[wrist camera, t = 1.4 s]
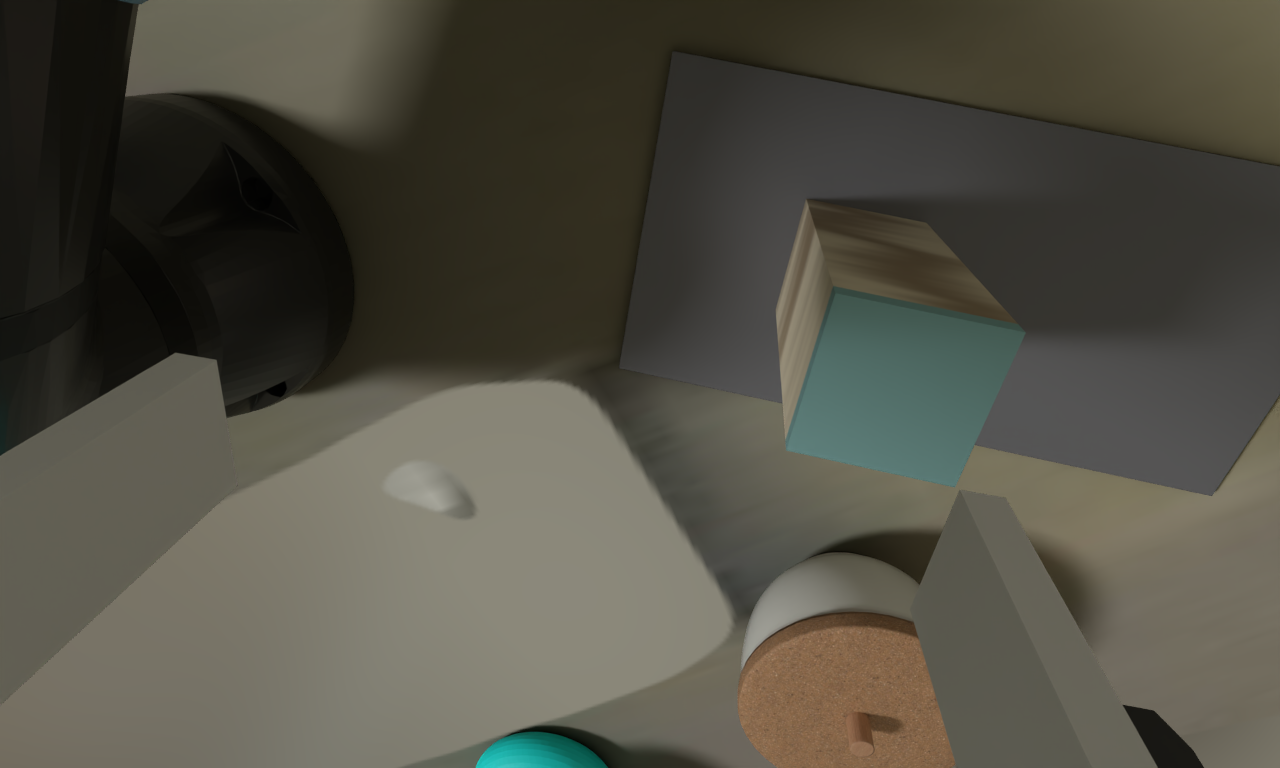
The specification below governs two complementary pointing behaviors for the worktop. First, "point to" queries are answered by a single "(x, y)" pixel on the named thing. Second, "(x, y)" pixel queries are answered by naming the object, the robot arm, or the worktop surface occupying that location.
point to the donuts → (538, 753)
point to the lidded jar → (840, 670)
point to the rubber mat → (977, 259)
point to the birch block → (887, 345)
